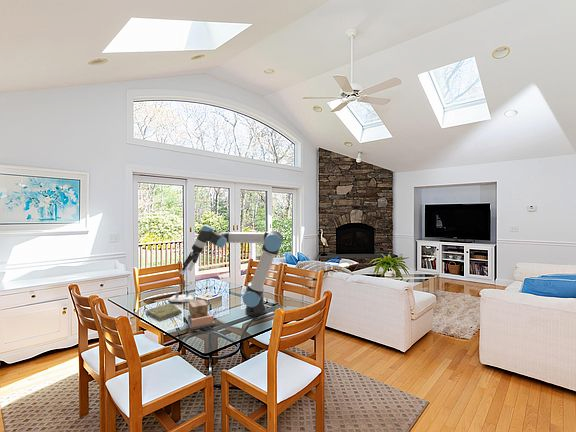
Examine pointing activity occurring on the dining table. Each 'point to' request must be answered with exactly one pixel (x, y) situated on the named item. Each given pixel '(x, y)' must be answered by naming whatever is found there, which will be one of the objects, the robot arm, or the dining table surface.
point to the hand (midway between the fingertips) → (185, 272)
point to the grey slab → (200, 321)
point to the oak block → (197, 309)
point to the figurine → (181, 296)
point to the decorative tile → (164, 311)
